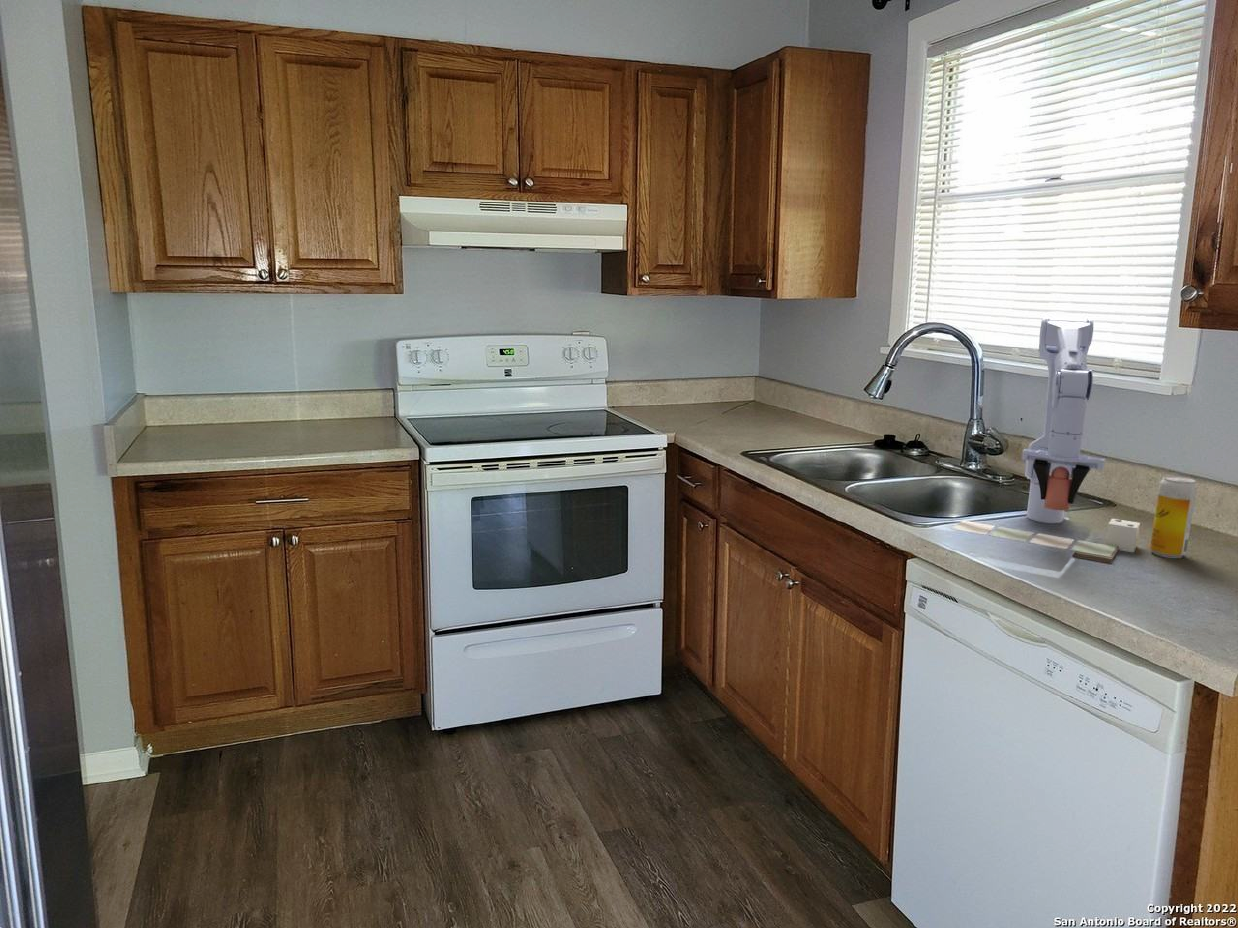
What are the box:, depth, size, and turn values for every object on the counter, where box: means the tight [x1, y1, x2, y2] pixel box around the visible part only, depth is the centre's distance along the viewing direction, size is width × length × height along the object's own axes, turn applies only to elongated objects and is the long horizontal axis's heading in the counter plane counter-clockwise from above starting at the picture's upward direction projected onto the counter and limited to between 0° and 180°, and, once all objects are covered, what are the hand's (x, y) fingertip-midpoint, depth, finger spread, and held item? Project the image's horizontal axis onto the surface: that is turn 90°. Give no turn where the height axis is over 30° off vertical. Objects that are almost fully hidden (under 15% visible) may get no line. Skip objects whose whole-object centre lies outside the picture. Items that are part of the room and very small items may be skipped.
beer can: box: [1149, 475, 1198, 559], centre depth 180 cm, size 6×6×15 cm
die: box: [1104, 518, 1141, 553], centre depth 185 cm, size 5×5×5 cm
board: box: [950, 519, 1120, 564], centre depth 186 cm, size 10×30×1 cm, turn 55°
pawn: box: [1044, 467, 1072, 511], centre depth 182 cm, size 4×4×8 cm
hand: (1057, 500), depth 183 cm, fingers closed on pawn, 4 cm apart
